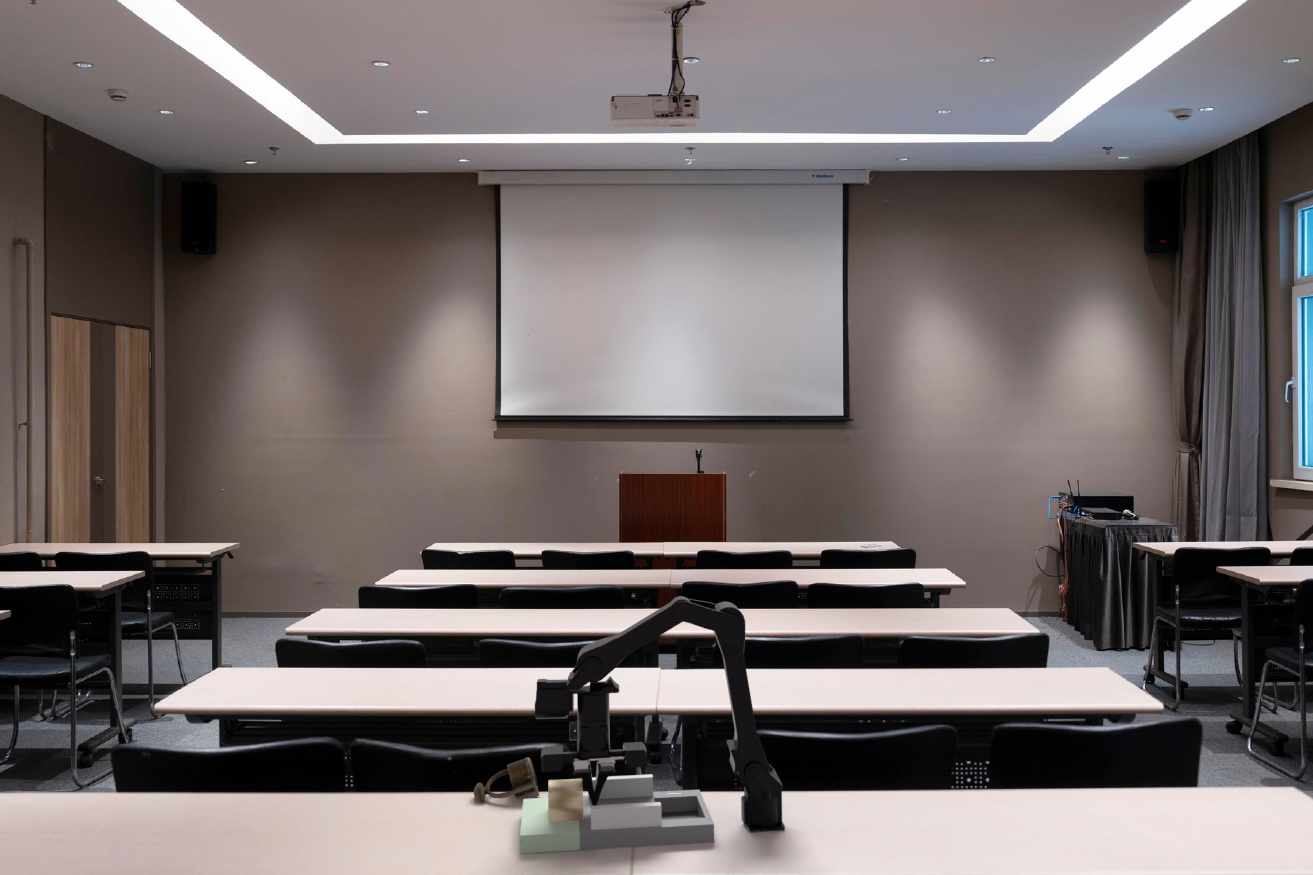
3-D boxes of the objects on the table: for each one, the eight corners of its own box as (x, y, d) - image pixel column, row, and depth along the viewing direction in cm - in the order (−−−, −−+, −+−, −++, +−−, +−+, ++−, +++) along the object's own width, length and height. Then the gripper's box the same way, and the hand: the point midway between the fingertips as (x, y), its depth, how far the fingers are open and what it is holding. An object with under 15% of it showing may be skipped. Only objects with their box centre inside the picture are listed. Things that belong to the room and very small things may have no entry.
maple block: (582, 806, 162) (581, 778, 162) (583, 819, 156) (582, 790, 156) (548, 808, 161) (548, 780, 161) (548, 821, 155) (548, 792, 155)
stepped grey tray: (699, 805, 169) (699, 770, 169) (714, 841, 153) (713, 803, 153) (523, 815, 165) (523, 779, 165) (519, 853, 149) (519, 814, 150)
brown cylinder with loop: (534, 779, 169) (547, 751, 179) (469, 771, 170) (485, 743, 180) (533, 813, 170) (546, 783, 180) (468, 805, 172) (484, 775, 181)
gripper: (641, 702, 168) (642, 785, 168) (541, 706, 166) (542, 790, 166) (647, 719, 157) (648, 808, 157) (540, 724, 155) (541, 814, 155)
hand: (594, 804), depth 159 cm, fingers closed
